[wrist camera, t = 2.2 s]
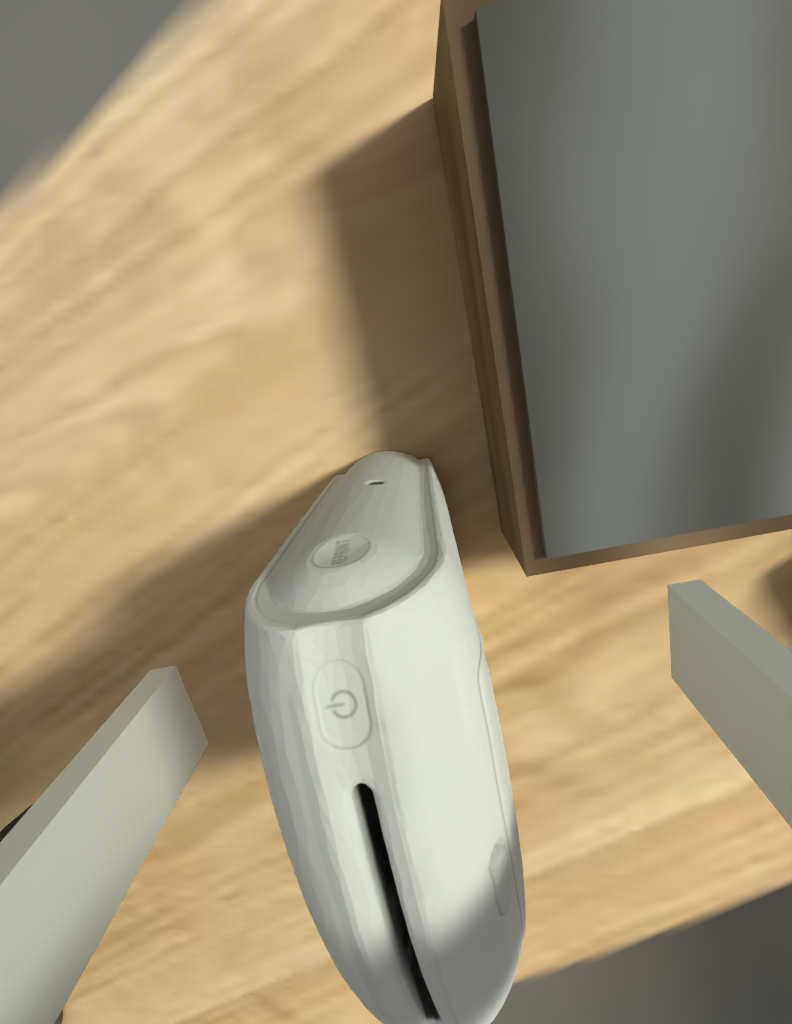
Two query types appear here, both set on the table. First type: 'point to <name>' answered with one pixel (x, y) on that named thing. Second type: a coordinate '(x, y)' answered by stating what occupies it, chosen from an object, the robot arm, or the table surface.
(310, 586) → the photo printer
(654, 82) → the mirror
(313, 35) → the table surface
